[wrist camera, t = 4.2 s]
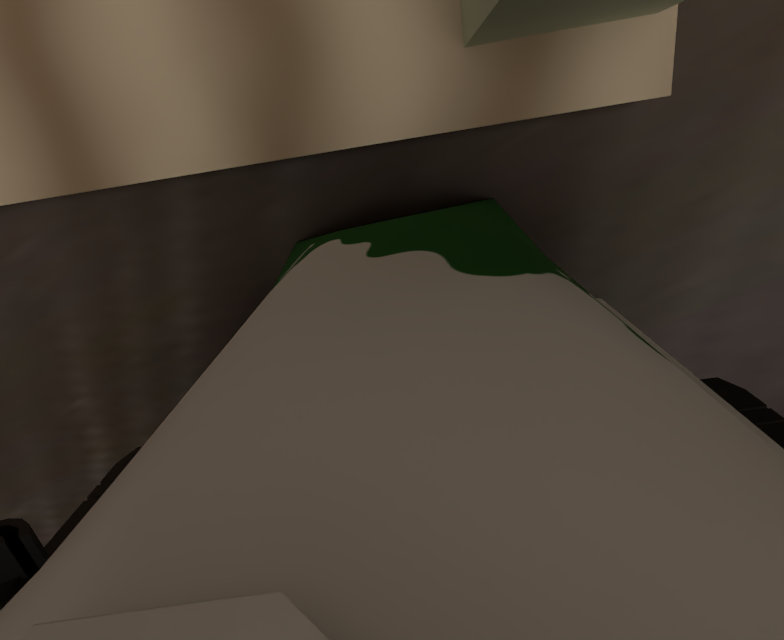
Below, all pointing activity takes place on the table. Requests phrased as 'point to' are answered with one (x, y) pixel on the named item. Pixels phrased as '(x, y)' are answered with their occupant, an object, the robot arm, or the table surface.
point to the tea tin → (545, 16)
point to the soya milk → (429, 469)
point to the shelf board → (279, 82)
